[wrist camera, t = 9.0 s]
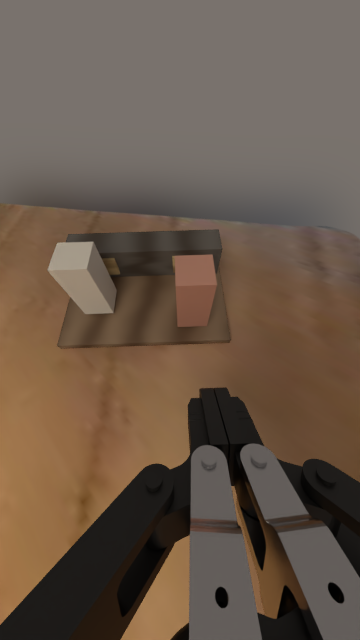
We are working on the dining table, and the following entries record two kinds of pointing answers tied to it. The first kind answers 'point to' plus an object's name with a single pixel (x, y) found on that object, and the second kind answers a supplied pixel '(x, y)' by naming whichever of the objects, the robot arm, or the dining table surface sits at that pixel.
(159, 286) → the switch board
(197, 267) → the brick key
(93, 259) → the cream key
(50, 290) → the dining table surface
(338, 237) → the dining table surface
